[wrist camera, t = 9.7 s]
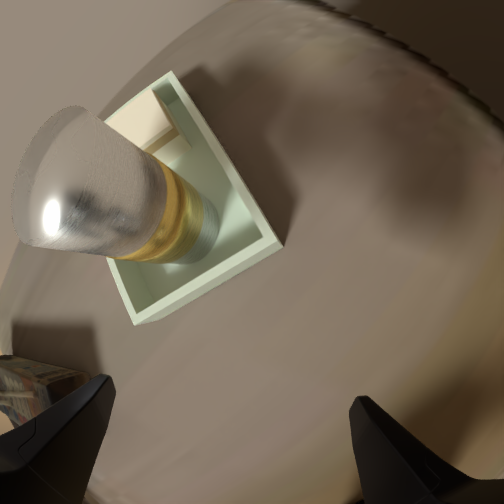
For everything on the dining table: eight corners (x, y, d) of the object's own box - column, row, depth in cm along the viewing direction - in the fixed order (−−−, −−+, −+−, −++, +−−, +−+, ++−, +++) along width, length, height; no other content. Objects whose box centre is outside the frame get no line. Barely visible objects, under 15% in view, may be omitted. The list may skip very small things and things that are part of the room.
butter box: (193, 148, 21) (170, 125, 17) (126, 196, 22) (97, 183, 18) (171, 110, 22) (150, 87, 18) (112, 156, 23) (86, 140, 19)
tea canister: (225, 190, 20) (115, 87, 7) (216, 269, 20) (74, 254, 7) (157, 191, 21) (32, 122, 9) (148, 262, 21) (2, 243, 8)
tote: (283, 247, 19) (277, 240, 16) (159, 319, 21) (134, 325, 17) (187, 91, 22) (171, 70, 19) (98, 159, 24) (76, 147, 21)
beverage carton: (12, 351, 26) (-22, 356, 20) (92, 368, 22) (44, 384, 16) (24, 401, 25) (-7, 410, 19) (110, 435, 21) (71, 460, 15)
